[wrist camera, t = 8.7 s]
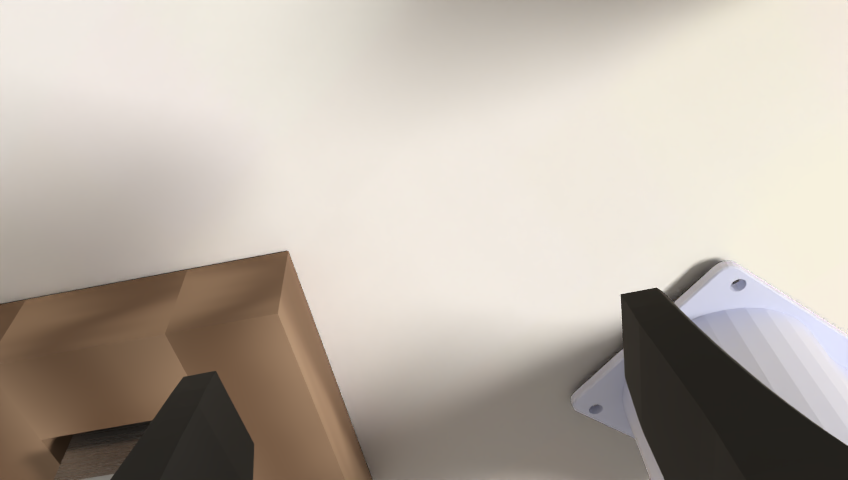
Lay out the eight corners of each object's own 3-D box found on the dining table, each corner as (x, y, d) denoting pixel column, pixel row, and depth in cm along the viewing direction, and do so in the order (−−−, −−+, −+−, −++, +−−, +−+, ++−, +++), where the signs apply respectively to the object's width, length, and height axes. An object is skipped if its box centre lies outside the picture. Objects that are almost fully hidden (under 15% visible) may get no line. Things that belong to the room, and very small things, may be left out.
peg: (209, 353, 25) (180, 462, 21) (245, 427, 27) (225, 538, 23) (99, 372, 25) (51, 484, 21) (145, 444, 27) (108, 556, 24)
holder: (288, 251, 22) (277, 313, 20) (372, 480, 29) (372, 548, 27) (-71, 317, 23) (-124, 386, 21) (94, 527, 30) (69, 597, 27)
